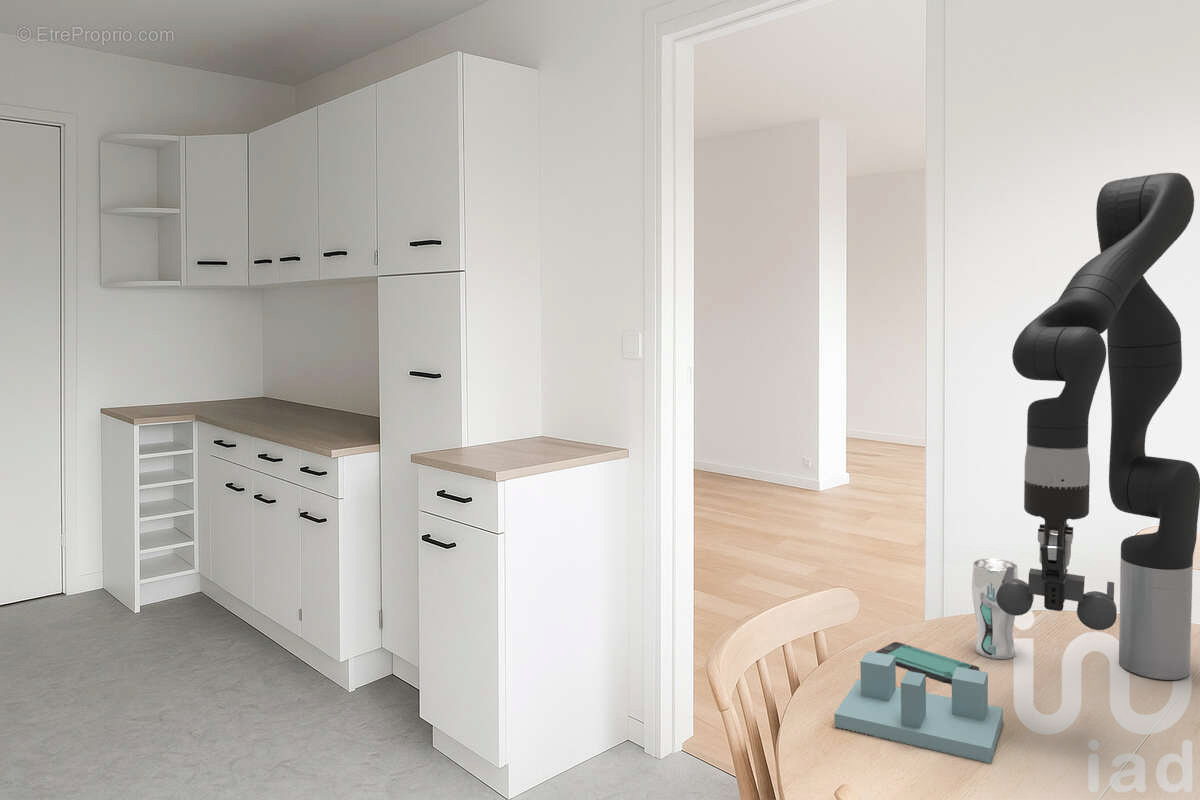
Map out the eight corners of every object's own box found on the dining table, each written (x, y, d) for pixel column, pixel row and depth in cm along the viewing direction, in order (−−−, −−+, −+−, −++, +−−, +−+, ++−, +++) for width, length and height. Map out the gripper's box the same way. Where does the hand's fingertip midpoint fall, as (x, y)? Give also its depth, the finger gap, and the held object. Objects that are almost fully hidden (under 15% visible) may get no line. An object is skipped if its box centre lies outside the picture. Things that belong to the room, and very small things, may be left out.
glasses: (1003, 591, 121) (1005, 550, 120) (1115, 609, 114) (1118, 566, 113) (995, 612, 113) (997, 568, 112) (1115, 633, 106) (1118, 586, 105)
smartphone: (895, 640, 142) (980, 666, 130) (895, 647, 142) (980, 673, 130) (870, 652, 137) (956, 681, 126) (870, 660, 137) (957, 688, 126)
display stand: (858, 691, 126) (857, 641, 125) (1003, 721, 115) (1003, 666, 114) (834, 727, 116) (833, 672, 115) (990, 763, 105) (990, 703, 104)
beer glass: (1023, 661, 133) (1024, 571, 131) (977, 660, 134) (977, 571, 133) (1011, 644, 140) (1011, 558, 138) (967, 642, 141) (967, 557, 140)
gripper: (1087, 491, 101) (1085, 628, 102) (1091, 470, 112) (1088, 594, 114) (1019, 487, 105) (1017, 618, 106) (1029, 467, 116) (1028, 586, 118)
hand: (1054, 605), depth 110 cm, fingers closed on glasses, 2 cm apart
